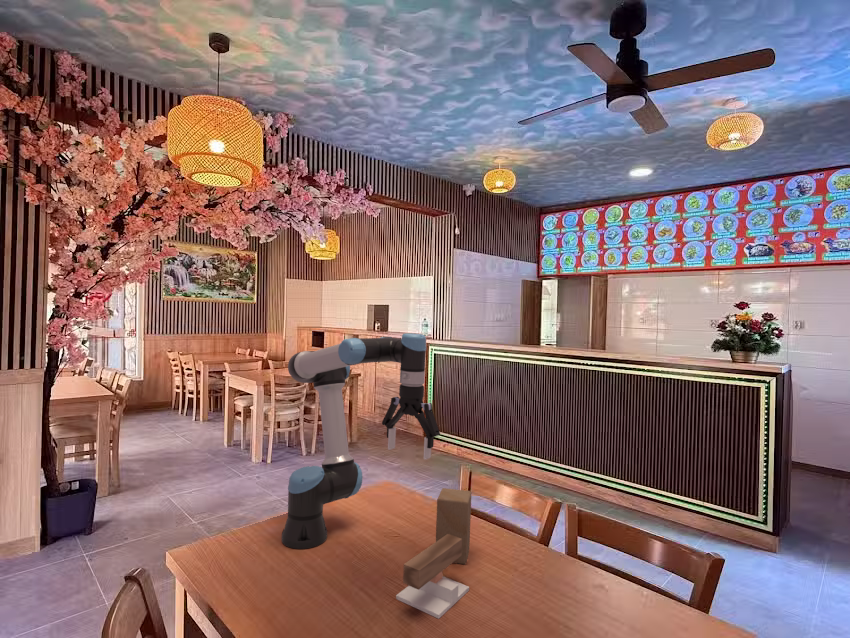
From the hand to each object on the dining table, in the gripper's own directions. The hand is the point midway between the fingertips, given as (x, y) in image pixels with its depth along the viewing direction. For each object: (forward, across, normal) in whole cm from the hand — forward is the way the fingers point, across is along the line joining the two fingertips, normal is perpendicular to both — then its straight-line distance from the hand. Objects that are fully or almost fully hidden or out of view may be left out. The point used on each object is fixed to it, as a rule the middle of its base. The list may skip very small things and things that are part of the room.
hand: (408, 453), depth 146 cm
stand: (+35, +15, -6) cm, 39 cm away
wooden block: (+36, +8, +16) cm, 40 cm away
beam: (+28, +15, -6) cm, 32 cm away
